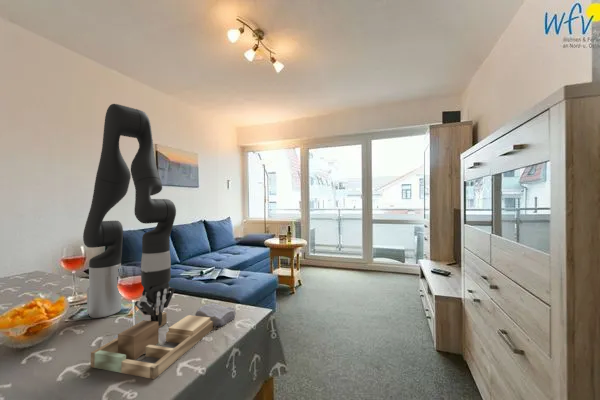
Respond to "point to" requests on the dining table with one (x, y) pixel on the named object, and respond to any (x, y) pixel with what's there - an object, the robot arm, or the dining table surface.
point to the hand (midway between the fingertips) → (156, 326)
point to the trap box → (154, 349)
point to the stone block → (217, 313)
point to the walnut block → (137, 339)
